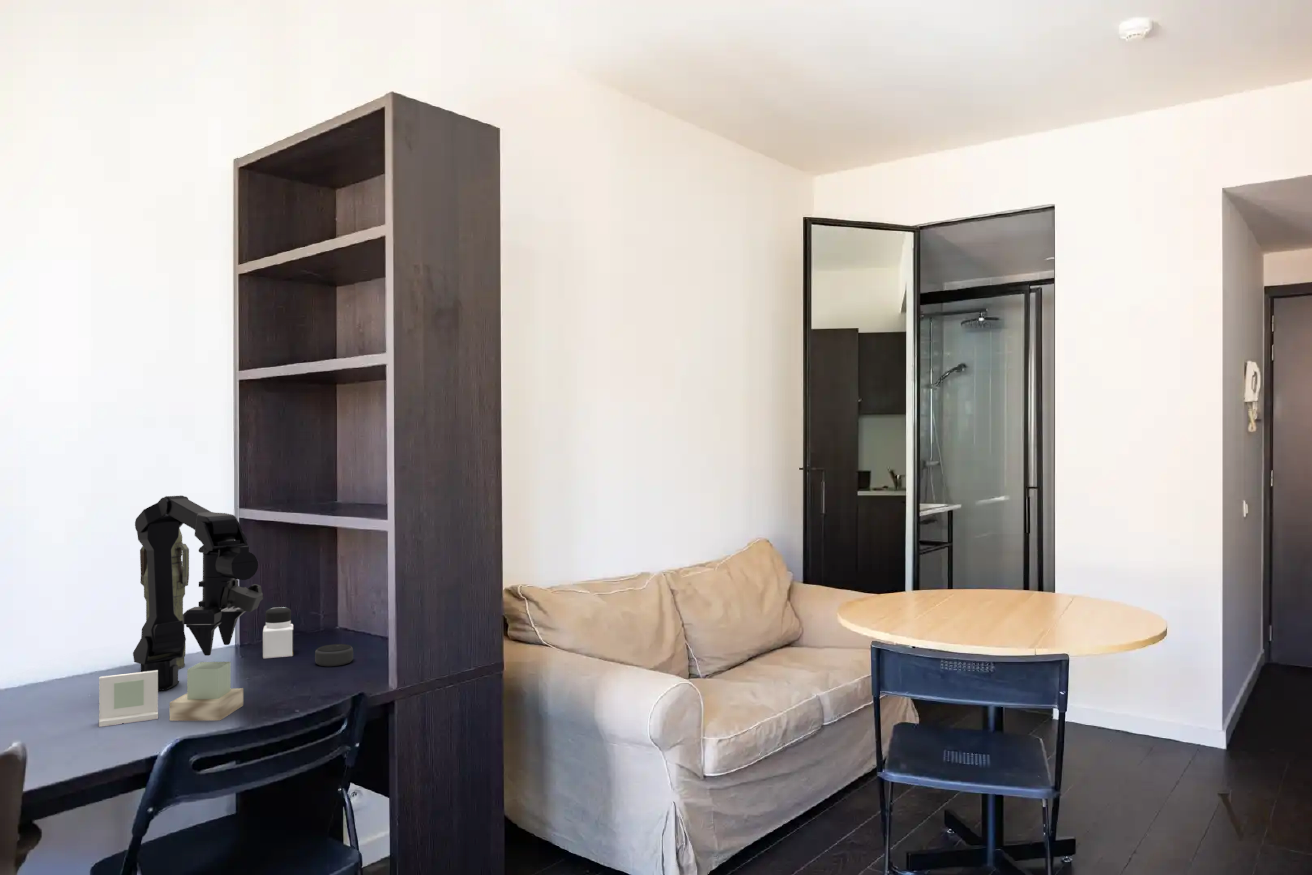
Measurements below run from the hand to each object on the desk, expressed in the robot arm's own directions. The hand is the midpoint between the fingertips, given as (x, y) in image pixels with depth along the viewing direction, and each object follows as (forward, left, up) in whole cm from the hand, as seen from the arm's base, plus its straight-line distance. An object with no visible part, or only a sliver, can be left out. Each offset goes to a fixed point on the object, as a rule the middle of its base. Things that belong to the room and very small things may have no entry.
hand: (217, 649), depth 187 cm
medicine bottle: (-3, +46, -12) cm, 47 cm away
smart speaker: (+14, +36, -12) cm, 40 cm away
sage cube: (0, -5, -8) cm, 9 cm away
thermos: (-26, +34, -12) cm, 44 cm away
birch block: (0, -5, -12) cm, 13 cm away
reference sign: (-14, -8, -12) cm, 20 cm away
